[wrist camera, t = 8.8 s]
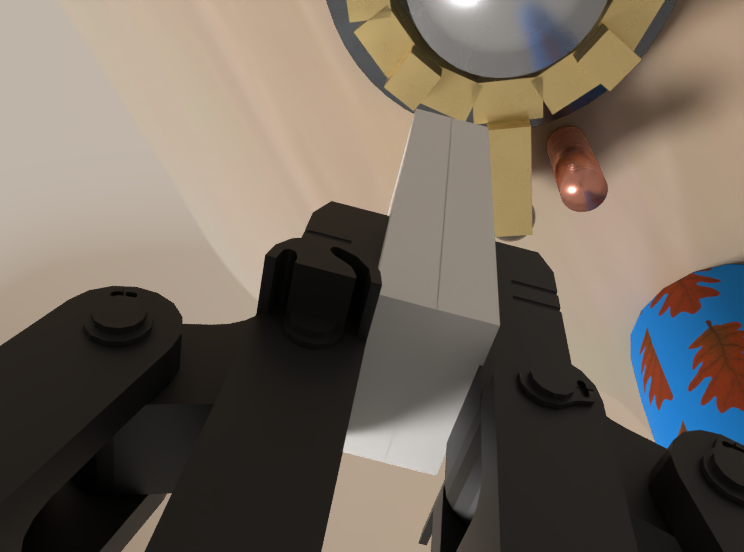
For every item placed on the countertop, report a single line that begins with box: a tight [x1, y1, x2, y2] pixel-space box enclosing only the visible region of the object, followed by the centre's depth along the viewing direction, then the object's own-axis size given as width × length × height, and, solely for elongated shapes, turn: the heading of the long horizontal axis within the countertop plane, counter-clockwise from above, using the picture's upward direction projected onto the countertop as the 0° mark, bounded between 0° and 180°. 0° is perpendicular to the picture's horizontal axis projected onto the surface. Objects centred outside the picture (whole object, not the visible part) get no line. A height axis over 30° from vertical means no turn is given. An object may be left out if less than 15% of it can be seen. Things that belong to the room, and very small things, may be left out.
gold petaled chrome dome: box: [346, 0, 665, 241], centre depth 27 cm, size 19×13×4 cm
